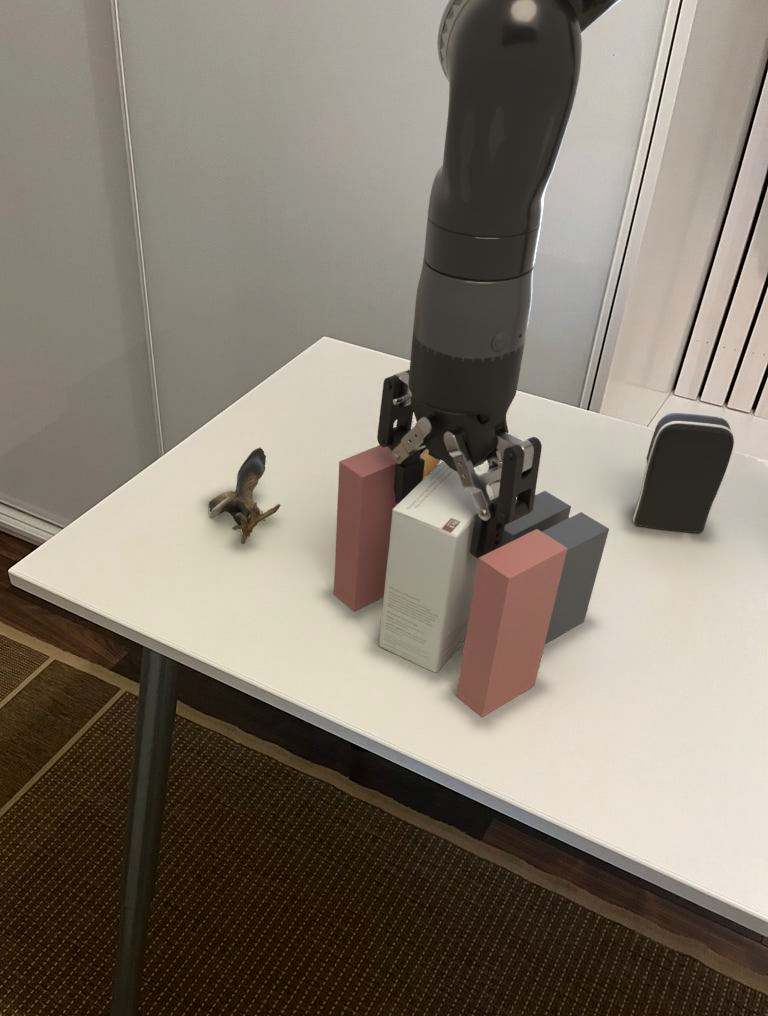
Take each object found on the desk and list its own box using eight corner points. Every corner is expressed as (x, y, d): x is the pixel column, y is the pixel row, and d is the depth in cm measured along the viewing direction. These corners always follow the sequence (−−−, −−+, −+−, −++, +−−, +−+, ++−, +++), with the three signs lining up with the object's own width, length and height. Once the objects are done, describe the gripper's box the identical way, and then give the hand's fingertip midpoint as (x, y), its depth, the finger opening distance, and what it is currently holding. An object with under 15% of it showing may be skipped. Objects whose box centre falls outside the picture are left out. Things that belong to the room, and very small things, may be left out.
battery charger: (700, 514, 98) (735, 412, 90) (704, 536, 95) (741, 432, 87) (629, 506, 99) (657, 404, 91) (631, 527, 96) (661, 424, 88)
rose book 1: (383, 570, 91) (395, 438, 81) (404, 586, 89) (418, 453, 80) (333, 594, 88) (338, 461, 79) (354, 611, 86) (362, 477, 77)
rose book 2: (508, 665, 81) (537, 528, 72) (534, 686, 79) (567, 548, 70) (455, 695, 79) (478, 557, 69) (481, 717, 77) (509, 578, 67)
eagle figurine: (301, 528, 94) (282, 465, 99) (263, 487, 88) (244, 423, 94) (236, 566, 96) (220, 502, 101) (195, 528, 91) (181, 463, 96)
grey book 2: (558, 604, 87) (581, 511, 81) (584, 621, 85) (609, 528, 79) (503, 634, 84) (521, 541, 77) (528, 653, 82) (550, 559, 76)
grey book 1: (525, 581, 90) (544, 490, 83) (550, 598, 88) (571, 506, 81) (470, 610, 87) (486, 517, 80) (495, 628, 85) (512, 535, 78)
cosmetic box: (423, 599, 88) (441, 455, 78) (483, 624, 85) (510, 479, 75) (375, 650, 83) (387, 504, 73) (437, 679, 80) (459, 531, 70)
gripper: (589, 351, 63) (545, 554, 73) (438, 281, 71) (418, 471, 82) (507, 384, 59) (473, 591, 70) (358, 306, 68) (349, 501, 79)
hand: (443, 526), depth 76 cm, fingers open, 8 cm apart
